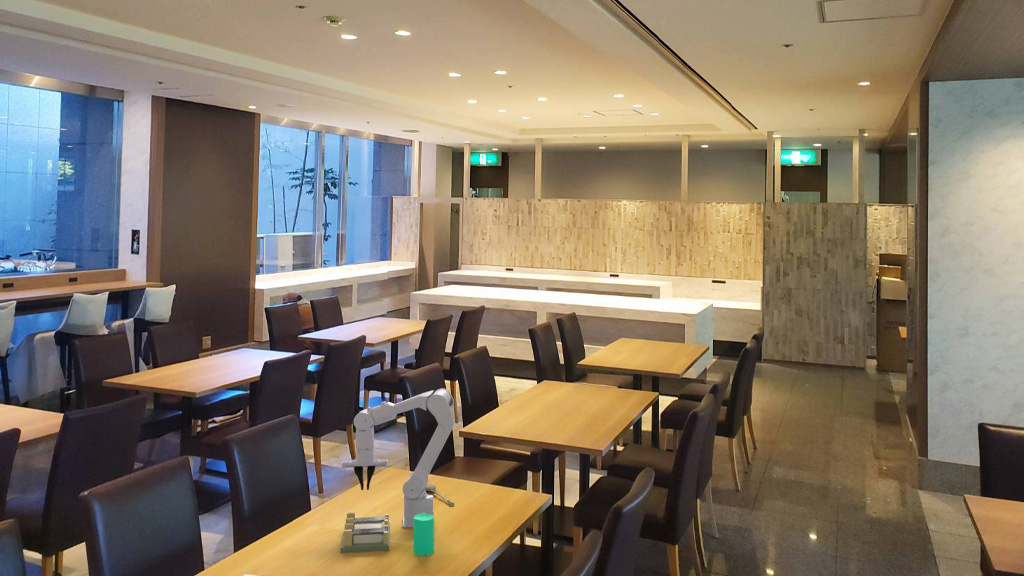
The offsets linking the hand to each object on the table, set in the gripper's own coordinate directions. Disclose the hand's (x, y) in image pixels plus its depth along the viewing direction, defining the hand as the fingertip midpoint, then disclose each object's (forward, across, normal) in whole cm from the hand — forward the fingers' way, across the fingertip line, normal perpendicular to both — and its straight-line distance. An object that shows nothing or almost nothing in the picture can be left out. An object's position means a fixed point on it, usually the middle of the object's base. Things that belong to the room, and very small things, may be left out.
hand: (365, 488), depth 243 cm
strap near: (+6, -2, +20) cm, 21 cm away
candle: (+11, -18, +26) cm, 33 cm away
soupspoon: (+11, -24, -19) cm, 33 cm away
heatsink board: (+10, -1, +16) cm, 19 cm away
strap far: (+6, -2, +11) cm, 13 cm away
